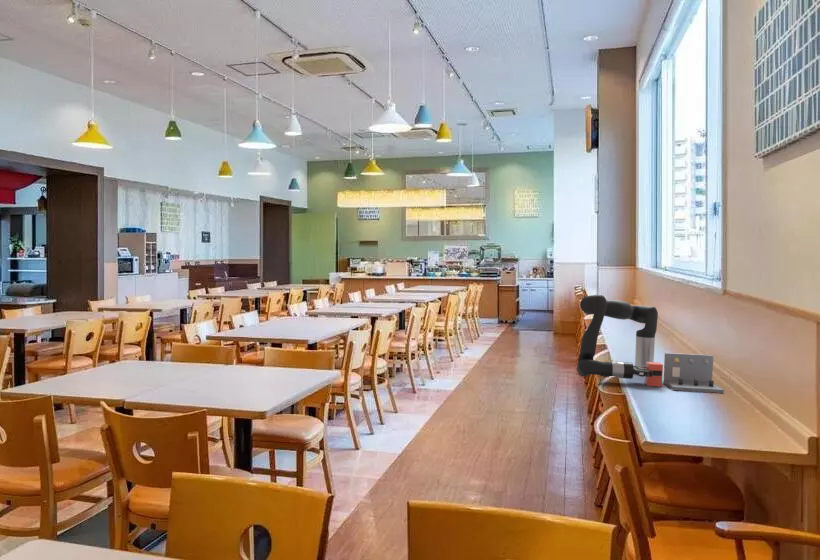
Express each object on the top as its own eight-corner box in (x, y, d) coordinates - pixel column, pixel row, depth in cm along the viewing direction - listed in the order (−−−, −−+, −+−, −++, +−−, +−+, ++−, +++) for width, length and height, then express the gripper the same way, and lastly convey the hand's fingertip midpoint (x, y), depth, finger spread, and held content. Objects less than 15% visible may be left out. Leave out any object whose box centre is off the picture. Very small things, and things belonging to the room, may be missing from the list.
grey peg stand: (663, 382, 294) (664, 352, 294) (710, 385, 291) (712, 355, 291) (672, 390, 277) (674, 358, 277) (723, 393, 274) (725, 361, 274)
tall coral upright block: (645, 383, 292) (646, 361, 291) (658, 383, 291) (659, 362, 290) (648, 385, 286) (649, 363, 285) (662, 386, 285) (663, 364, 284)
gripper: (624, 364, 283) (664, 366, 280) (619, 359, 297) (656, 361, 294) (624, 381, 283) (663, 383, 281) (618, 375, 297) (655, 377, 295)
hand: (659, 372), depth 287 cm, fingers closed on tall coral upright block, 6 cm apart
